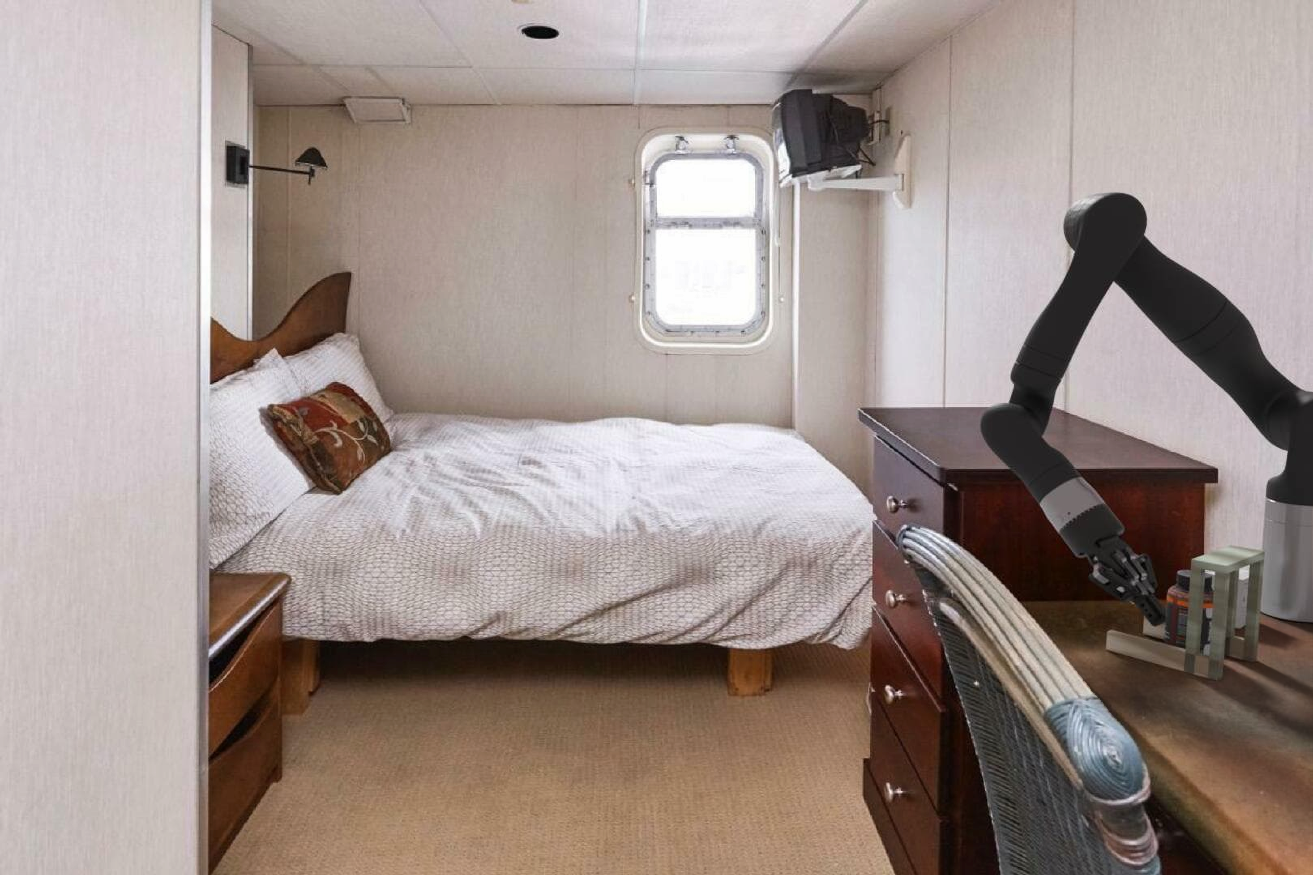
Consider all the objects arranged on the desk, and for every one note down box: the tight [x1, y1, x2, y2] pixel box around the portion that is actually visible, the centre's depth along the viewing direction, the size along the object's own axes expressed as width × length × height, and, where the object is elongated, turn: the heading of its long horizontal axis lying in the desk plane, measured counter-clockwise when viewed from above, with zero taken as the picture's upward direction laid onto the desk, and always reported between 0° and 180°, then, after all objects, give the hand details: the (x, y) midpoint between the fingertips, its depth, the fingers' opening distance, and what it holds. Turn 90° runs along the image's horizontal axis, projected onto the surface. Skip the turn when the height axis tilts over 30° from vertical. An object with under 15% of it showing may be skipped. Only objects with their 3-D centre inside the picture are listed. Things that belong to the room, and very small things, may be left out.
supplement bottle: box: [1163, 569, 1214, 655], centre depth 123 cm, size 6×6×11 cm
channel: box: [1105, 545, 1265, 682], centre depth 124 cm, size 11×14×14 cm
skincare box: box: [1205, 568, 1249, 629], centre depth 138 cm, size 6×6×7 cm
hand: (1162, 622), depth 126 cm, fingers closed
